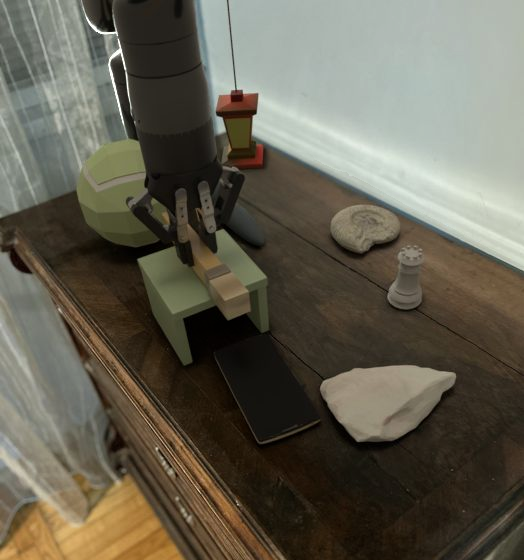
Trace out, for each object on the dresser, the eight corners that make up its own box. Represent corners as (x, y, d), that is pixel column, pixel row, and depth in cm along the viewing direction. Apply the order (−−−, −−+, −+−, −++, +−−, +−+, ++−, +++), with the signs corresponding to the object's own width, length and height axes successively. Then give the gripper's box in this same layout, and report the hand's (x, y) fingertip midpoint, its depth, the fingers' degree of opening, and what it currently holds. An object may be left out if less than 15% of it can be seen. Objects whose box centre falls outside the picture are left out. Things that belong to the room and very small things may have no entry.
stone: (312, 360, 61) (435, 330, 64) (311, 385, 64) (428, 355, 67) (349, 435, 54) (485, 398, 56) (346, 459, 57) (476, 422, 59)
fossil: (375, 242, 76) (314, 228, 81) (376, 264, 79) (316, 250, 84) (411, 203, 82) (352, 192, 87) (410, 225, 84) (353, 213, 90)
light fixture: (263, 148, 106) (251, -39, 85) (262, 167, 101) (249, -27, 79) (224, 150, 107) (202, -35, 85) (221, 169, 101) (196, -23, 80)
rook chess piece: (400, 285, 76) (407, 236, 70) (428, 299, 73) (438, 249, 67) (380, 301, 74) (386, 252, 68) (408, 316, 71) (416, 266, 65)
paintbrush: (283, 241, 85) (281, 212, 81) (257, 254, 83) (254, 225, 79) (211, 192, 96) (207, 165, 92) (187, 203, 94) (182, 176, 90)
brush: (162, 234, 71) (157, 214, 69) (182, 227, 72) (178, 207, 70) (227, 320, 59) (224, 299, 57) (251, 311, 60) (248, 289, 58)
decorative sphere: (199, 251, 84) (183, 158, 73) (101, 275, 81) (70, 183, 71) (177, 203, 94) (160, 115, 83) (89, 223, 91) (60, 135, 81)
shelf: (151, 312, 75) (136, 258, 68) (230, 282, 78) (223, 228, 72) (185, 368, 67) (172, 314, 61) (271, 332, 71) (267, 277, 64)
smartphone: (267, 331, 69) (322, 418, 59) (268, 337, 70) (322, 424, 60) (212, 350, 67) (259, 442, 58) (213, 356, 68) (260, 448, 58)
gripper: (116, 148, 49) (155, 297, 61) (253, 108, 53) (264, 256, 65) (92, 119, 53) (133, 263, 66) (220, 84, 57) (236, 226, 70)
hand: (199, 259), depth 65 cm, fingers closed on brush, 2 cm apart
